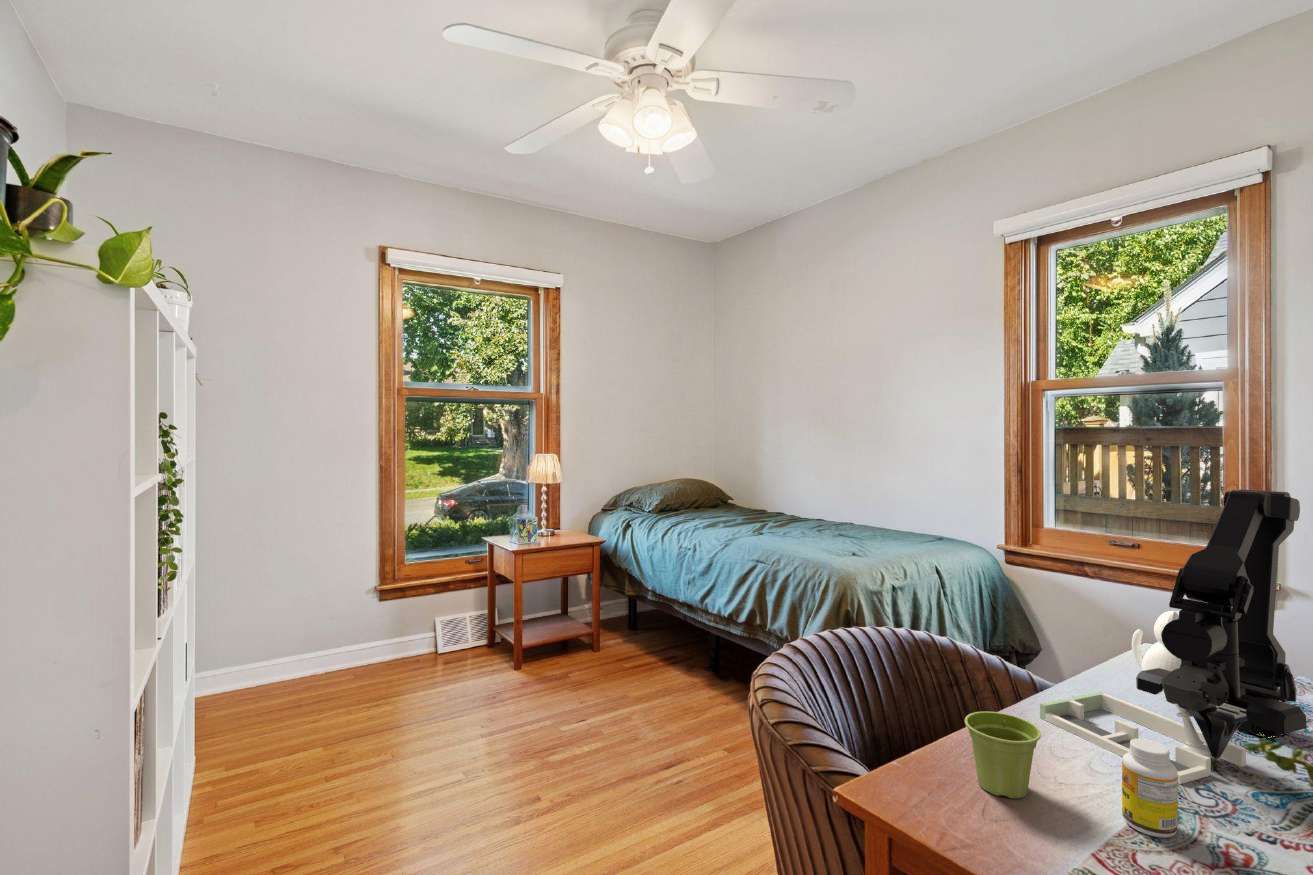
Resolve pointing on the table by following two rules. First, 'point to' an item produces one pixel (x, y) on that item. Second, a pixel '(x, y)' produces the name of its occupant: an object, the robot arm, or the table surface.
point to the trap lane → (1133, 731)
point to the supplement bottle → (1149, 789)
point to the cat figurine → (1156, 647)
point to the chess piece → (1192, 735)
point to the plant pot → (1002, 751)
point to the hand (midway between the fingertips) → (1216, 756)
